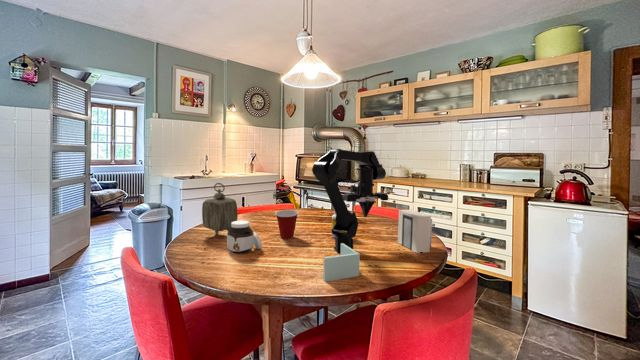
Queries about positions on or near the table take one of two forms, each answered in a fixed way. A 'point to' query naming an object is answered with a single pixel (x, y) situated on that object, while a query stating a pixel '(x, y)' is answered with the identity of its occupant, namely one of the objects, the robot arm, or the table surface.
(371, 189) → the robot arm
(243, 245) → the spread jar
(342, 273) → the l-shaped corner panel
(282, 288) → the table surface
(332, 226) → the supplement bottle
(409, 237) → the light grey rectangular block
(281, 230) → the plastic cup
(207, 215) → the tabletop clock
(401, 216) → the housing
